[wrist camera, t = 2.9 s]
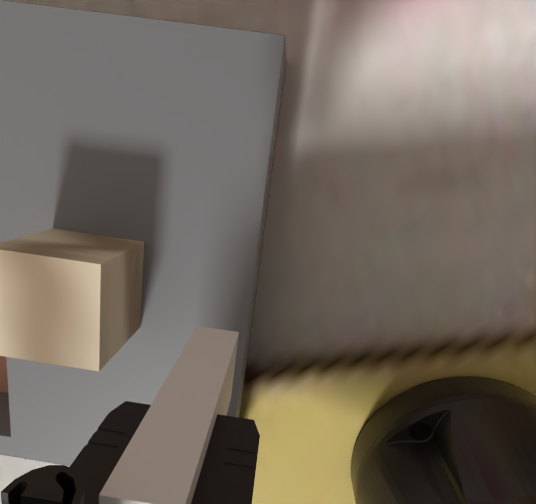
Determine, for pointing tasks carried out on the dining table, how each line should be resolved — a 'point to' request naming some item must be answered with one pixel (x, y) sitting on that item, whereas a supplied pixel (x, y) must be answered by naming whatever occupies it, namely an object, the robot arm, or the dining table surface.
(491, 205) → the dining table surface
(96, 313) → the birch block
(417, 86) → the dining table surface
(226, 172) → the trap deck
